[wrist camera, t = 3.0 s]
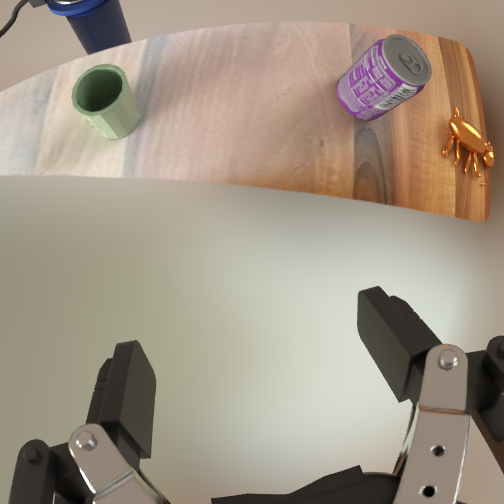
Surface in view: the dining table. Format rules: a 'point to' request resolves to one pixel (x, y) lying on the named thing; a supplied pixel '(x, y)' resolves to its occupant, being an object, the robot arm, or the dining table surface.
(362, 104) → the beverage can
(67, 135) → the dining table surface
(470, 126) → the figurine
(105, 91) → the cup
